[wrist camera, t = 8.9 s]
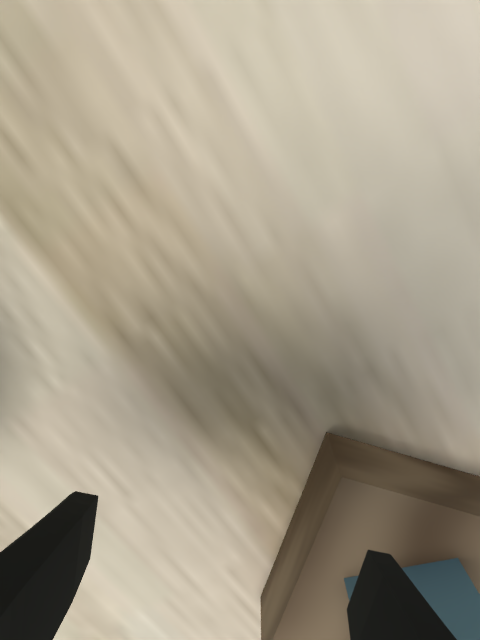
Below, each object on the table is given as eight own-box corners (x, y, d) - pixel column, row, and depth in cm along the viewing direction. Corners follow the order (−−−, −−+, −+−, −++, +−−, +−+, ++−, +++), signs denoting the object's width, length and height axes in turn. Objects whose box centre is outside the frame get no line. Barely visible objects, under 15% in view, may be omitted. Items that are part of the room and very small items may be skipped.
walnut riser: (524, 485, 21) (586, 546, 17) (437, 638, 23) (474, 720, 20) (325, 427, 20) (341, 476, 16) (260, 589, 23) (261, 665, 19)
